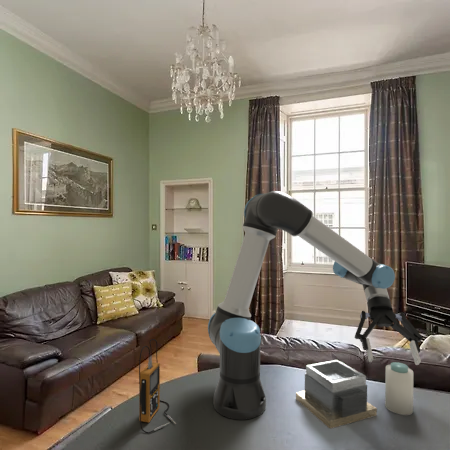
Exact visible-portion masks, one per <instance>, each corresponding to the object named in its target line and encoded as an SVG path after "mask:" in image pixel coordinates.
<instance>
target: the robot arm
mask: <svg viewBox="0 0 450 450" xmlns="http://www.w3.org/2000/svg"><path fill="white" fill-rule="evenodd" d="M243 209H244V210H243V216H244V222H243V225H242V229H243V231H244V236H243V239H242V243H241V246H240V249H239V252H238V255H237V257H236V258H237V259H236V261H235V265H234V268H233V271H232V275H231V277H230V280H229V281H230V282H229V285H228V287H227V291H226V294H225V297H224V300H223V301H222V302H220V303H218V304H217V306H216V310H215V312H214V313H213V314H212V315H211V316H210V318H209V320H208V323H207V333H208V337H209V339H210V341H211V342H212V344H213V345H214V346H215V349H216V350H217V352H218V354H219V378H218V382H217V385H216V387H215V391H214V393H213V399H212V400H213V403H212V404H213V407H214V410H215V411H216V412H217V414H219V415H221V416H223V417H225V418H229V419H232V420H239V421H240V420H241V421H242V420H250V419H254V418H257V417H259V416H261V415H262V414H263V413H264V411H266V406H267V403H266V402H267V401H266V400H267V399H266V397H267V396H266V394H265V391H264V388H263V384H262V380H261V342H262V337H261V329H260V326H259V325H258V324H257V323H256V322H254V321H253V320H251V317H252V314H251V312H250V309H249V308H250V305H251V302H252V299H253V295H254V292H255V288H256V287H257V282H258V279H259V276H260V272H261V269H262V266H263V263H264V260H265V257H266V253H267V251H268V247H269V243H270V241H271V240H273V239H275V238H276V236H277V234H278V230H281V231H283V232H285V233H287V234H289V235H291V236H292V237H299V238H301V239H302V240H303V241H305V242H306V243H308V244H309V245H311V246H312V247H313V248H315V249H317V250H318V251H319V252H321V254H323V255H325V256H327V257H328V258H330V259H331V260H332V261H333V264H332V271H333V274H335V276H338V277H339V278H342V279H345V280H348V281H351V282H353V283H356V284H358V285H362V288H363V291H364V296H365V300H366V304H367V308H368V312H366V310H362V311H361V312H360V315H359V316H360V317H359V318H360V320H359V324H358V326H357V329H356V332H355V333H354V339H355V340H359V342H360V343H361V346H362V349H363V351H366V354H367V358H368V359H367V360H368V362H369V363H372V362H373V360H374V355H373V351H372V346H371V342H370V337H369V338H368V336H369V335H370V334H371V333H372V331H373V330H374V328H375V327H376V326H378V327H379V328H380V327H381V328H383V327H385V328H389V327H390V328H392V329H394V330H395V331H396V332H398V333H399V334H400V335H402V336H403V338H405V339H406V340H407V341H408V342H409V343H408V345H409V348H410V352H411V355H412V358H413V362H414V364H415V365H416V366H418V365H420V364H421V362H422V359H421V357H420V354H419V353H420V352H421V348H420V345H419V343H420V342H422V340H423V338H424V337H423V336H422V334H421V333H420V332H419V331H418V330H417V328H415V327H414V325H413V324H412V323H411V322H410V320H408V318H407V317H406V314H405V313H404V312H402V311H401V312H400V313H395V312H394V310H393V309H394V308H393V305H392V302H391V299H390V296H389V293H388V292H389V291H388V288H391V286H393V284H394V282H395V279H396V275H395V271H394V269H393V268H392V267H391V266H389V265H386V264H383V263H379V262H377V261H376V260H374V259H373V258H371V257H370V256H368V255H367V254H366V253H365V252H364V251H361V249H359V247H358V248H357V247H356V246H355V245H353V244H352V243H350V242H349V241H348V240H347V239H346V238H344V237H342V236H341V235H340V234H338V233H337V232H336V231H334V230H333V229H332V228H330V226H329V227H328V226H327V225H326V224H325V223H324V222H322V221H320V220H319V219H318V218H316V217H315V216H314V213H313V210H311V209H310V208H308V207H307V206H306V205H304V204H303V203H301V202H300V201H299V200H297V199H296V198H294V197H293V196H291V195H290V194H287V193H285V192H283V191H279V190H273V191H269V192H266V193H258V194H256V195H254V196H253V197H251V198H250V199H249V200H248V201H247V202H246V204H245V206H244V208H243ZM368 318H369V319H370V320H371V321H372V322H371V323H370V324H369V326H368V327H367V328H366V330H365V331H364V332H363V333H362V331H363V330H362V329H363V328H364V324H365V322H366V320H367V319H368ZM361 333H362V334H361Z"/></svg>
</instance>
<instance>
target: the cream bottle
mask: <svg viewBox="0 0 450 450" xmlns="http://www.w3.org/2000/svg"><path fill="white" fill-rule="evenodd" d="M384 388H385V389H384V390H385V391H384V392H385V396H384V397H385V400H384V401H385V402H384V405H385V406H384V407H385V409H387V410H389V412H392V413H394V414H397V415H399V416H410V415H412V414H414V413H413V412H414V371H413V369H412V368H410V367H409V366H408V365H407V364H405V363H402V362H398V361H397V362H396V361H393V362H391V363H390V364H387V365H385V387H384Z"/></svg>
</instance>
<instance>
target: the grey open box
mask: <svg viewBox="0 0 450 450" xmlns="http://www.w3.org/2000/svg"><path fill="white" fill-rule="evenodd" d="M295 400H296V401H297V402H299V403H300V404H301V405H302V406H303V407H304V408H306V409H307V410H308V411H309V412H310V413H311V414H312V415H313V416H315V418H317V419H318V420H319V421H320V422H321V423H323V424H324V425H325V426H326V427H327V428H328V429H330V430H331V429H334V428H338V427H341V426H346V425H348V424H351V423H355V422H359V421H362V420H367V419H370V418H373V417H376V416H377V415H378V408H377V407H375V406H374V405H372V404H371V403H369V402H368V385H367V375H366V374H363V373H362V372H360V371H358V370H356V369H355V368H352V367H351V366H349V365H347V364H345V363H344V362H343V361H341V360H338V359H334V360H333V359H332V360H329V361H328V360H327V361H323V362H318V363H312V364H307V365H306V366H305V373H304V390H301V391H296V392H295Z"/></svg>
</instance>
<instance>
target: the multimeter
mask: <svg viewBox="0 0 450 450" xmlns="http://www.w3.org/2000/svg"><path fill="white" fill-rule="evenodd" d="M152 341H155V343H156V346H158V341H157V340H156V338H155V339H154V338H153V339H150V340H149V346H148V345H144V346H143V347H142V348H141V350H140V353H139V360H138V361H139V362H138V379H139V381H138V382H139V383H138V384H139V393H138V396H139V399H138V400H139V403H138V406H139V412H138V413H139V415H138V417H139V418H138V419H139V420H138V421H139V423H140V428H141V431H142V432H144V433H146V434H150V433H152V432H156V431H158V430H159V429H162V428H165V426H167V425H169V424H170V422H167V423H165V424H162V425H160V426H157V427H156V428H154V429H152V430H151V431H146V430H144V429H143V426H142V425H143V424H142V422H144V423H150V422H151V420H152V419H153V417H154V416H155V415H156V413H157V412H159V410H160V402H161V403H165V404H167V406H168V407H167V408H166V409H165V410H164V411H163V413H164V414H165V415H166V416H167V418H168V419H169V420H170V421H171V422H172V423H174V424H175V425H176V424H177V423H176V421H174V419H173V418H172V417H171V415H169V414H167V411H168V409H170V404H169V403H168V402H167V401H164V400H161V399H160V396H161V395H160V392H161V390H160V387H161V386H160V385H161V383H160V382H161V380H160V379H161V363H160V362H158V347H156V351H155V359H156V362H153V359H152V358H153V357H152V355H151V350H152V345H151V342H152ZM144 348H147V349H148V362H147V366H145V367H144V368H143V369H142V370H141V361H142V360H141V358H142V357H141V356H142V352H143V349H144Z"/></svg>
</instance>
